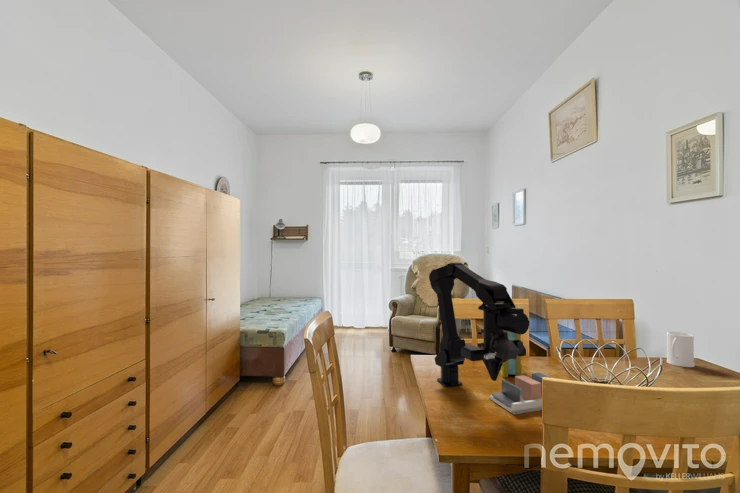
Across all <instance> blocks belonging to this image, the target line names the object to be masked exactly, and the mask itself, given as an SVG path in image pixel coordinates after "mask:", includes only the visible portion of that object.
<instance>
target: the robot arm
mask: <svg viewBox="0 0 740 493" xmlns="http://www.w3.org/2000/svg"><path fill="white" fill-rule="evenodd" d="M428 275H429V276H428V279H429V280H428V281H429V282H430V283H429V284H430V287H431V289H432V290H433V291H434V293H435V294H436V297H437V304H438V310H439V318H440V324H441V332H442V338H441V340H440V343H439V352H438V353H437V355H436V356H435V357H434V363H435V365H436V366H439V367H440V377H438V378H437V379H436V381H437V382H439V383H441V385H442V386H444V387H454V386H459V385H463V381H460V380H459V366H462V365H464V363H465V359H467V360H468V361H471V362H478V361H479V362H480V361H482V362H483V363H484V366H485V368H486V370H487V372H488V375H489V377H490V379H491V381H493V382H495V381H497V379H498V376H499V374H500V373H501V370H500V369H501V367H502V365H503V363H504V362H506V361H507V360H510V359H517V356H521V357H525V356H527V348H526V347H525V345H524V341H522V340H514V341H513V340H509V339H508V334H507V332H505V331H509V332H513V333H517V334H521V335H524V334H526V333H527V331H528V330H529V329H530V328H529V327H530V319H529V318H528V316H527V314H526V313H525V310H524V308H522V307H521V308H522V309H521V308H516V307H515V305H516V304H515V302H514V301H513V299H512V298H511V296H510V293H509V292H508V288H507V287H506V285H504V284H503V283H500V282H497V281H493V280H489V279H485V278H484V277H483V276H481V275H479V274H478V273H476V272H474V271H473V270H471V269H470V268H468V267H466V265H464V264H463V263H462V262H449V263H447V264H446V265H443V266H441V267H437V268H434V269H432V270H431V271H430V273H429V274H428ZM455 280H459V281H460V282H462V283H463V284H464V285H465V286H467V287H469V288H470V289H471V290H473V291H474V292H475V295H476V297H477V298H478V300H479V301H481V302H482V303H481V305H479V306H478V307H477V309H478V310H480V311H483V314H482V315H483V318H482V319H483V320H482V321H483V327H482V328H480V333H481V334H482V336H483V342H480V347H478V346H476V345H466V340H465V339H462V338H461V337H460V335H459V334H458V329H457V323H456V314H455V310H454V303H453V295H452V292H453V290H454V288H455V287H454V286H455ZM500 303H502V304H500ZM514 304H515V305H514ZM504 330H505V331H504ZM481 347H482V348H481Z"/></svg>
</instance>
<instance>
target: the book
mask: <svg viewBox="0 0 740 493" xmlns="http://www.w3.org/2000/svg"><path fill="white" fill-rule="evenodd" d="M500 304H502V303H500ZM514 305H515V307H516V308H521V309H523V308H522V307H521V306H518V304H515V303H514ZM504 331H505V330H504ZM505 332H507V334H508V339H509V340H513V341H514V340H521V339H522V338H521V334H517V333H513V332H509V331H505ZM521 341H522V340H521ZM521 357H522V356H517V359H510V360H507V361H506V362H504V363H503V365H502V367H501V369H500V375H501V377H502V378H509V375H514V377H515V376H522V375H523V363H521V362H522V358H521Z"/></svg>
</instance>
